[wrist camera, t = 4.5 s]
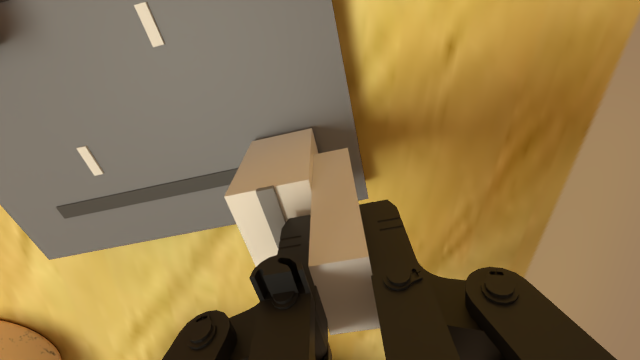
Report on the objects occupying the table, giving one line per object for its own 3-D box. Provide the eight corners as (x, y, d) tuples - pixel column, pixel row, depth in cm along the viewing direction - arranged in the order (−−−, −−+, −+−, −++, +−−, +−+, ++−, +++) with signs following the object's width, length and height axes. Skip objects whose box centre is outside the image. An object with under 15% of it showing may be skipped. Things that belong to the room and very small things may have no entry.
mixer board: (363, 180, 19) (368, 199, 17) (71, 238, 21) (47, 261, 19) (292, -198, 11) (287, -237, 9) (-154, -43, 13) (-230, -51, 12)
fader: (327, 190, 16) (330, 260, 12) (273, 201, 17) (256, 273, 12) (311, 127, 15) (307, 181, 10) (251, 140, 15) (222, 198, 11)
